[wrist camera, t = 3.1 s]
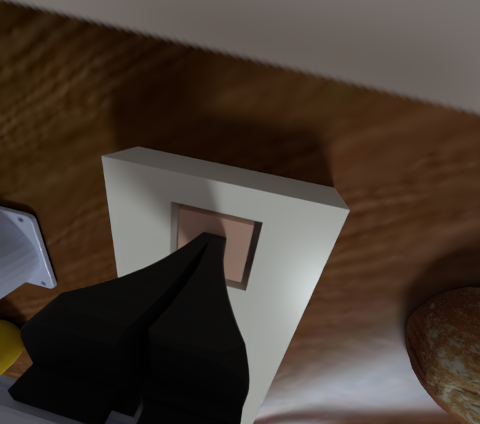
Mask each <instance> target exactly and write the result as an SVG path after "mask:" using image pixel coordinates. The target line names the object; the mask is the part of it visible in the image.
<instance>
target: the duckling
mask: <svg viewBox="0 0 480 424" xmlns="http://www.w3.org/2000/svg"><path fill="white" fill-rule="evenodd" d="M20 335H21V331H20V330H19V328H18V327H17V326H16V325H15V324H13V323H12V322H9V321H6V320H1V319H0V375H1V374H2V373H3V372H4V371H6V370H7V369H8V368H9V367H10V366H11V365H12V364H13V363H14V362H15V361H16V359H17V358H18V357H19V356H20V354H21V353H22V351H23V348H24V344H23V342H22V339H21V336H20Z"/></svg>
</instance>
